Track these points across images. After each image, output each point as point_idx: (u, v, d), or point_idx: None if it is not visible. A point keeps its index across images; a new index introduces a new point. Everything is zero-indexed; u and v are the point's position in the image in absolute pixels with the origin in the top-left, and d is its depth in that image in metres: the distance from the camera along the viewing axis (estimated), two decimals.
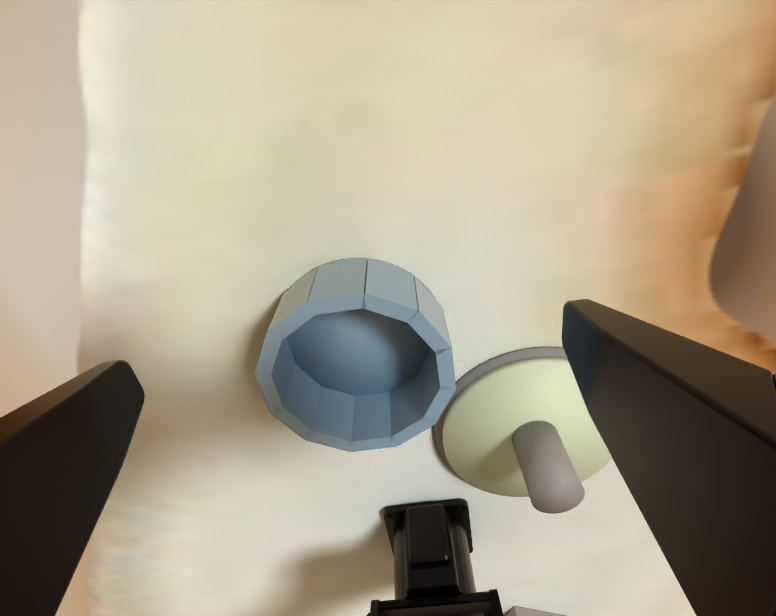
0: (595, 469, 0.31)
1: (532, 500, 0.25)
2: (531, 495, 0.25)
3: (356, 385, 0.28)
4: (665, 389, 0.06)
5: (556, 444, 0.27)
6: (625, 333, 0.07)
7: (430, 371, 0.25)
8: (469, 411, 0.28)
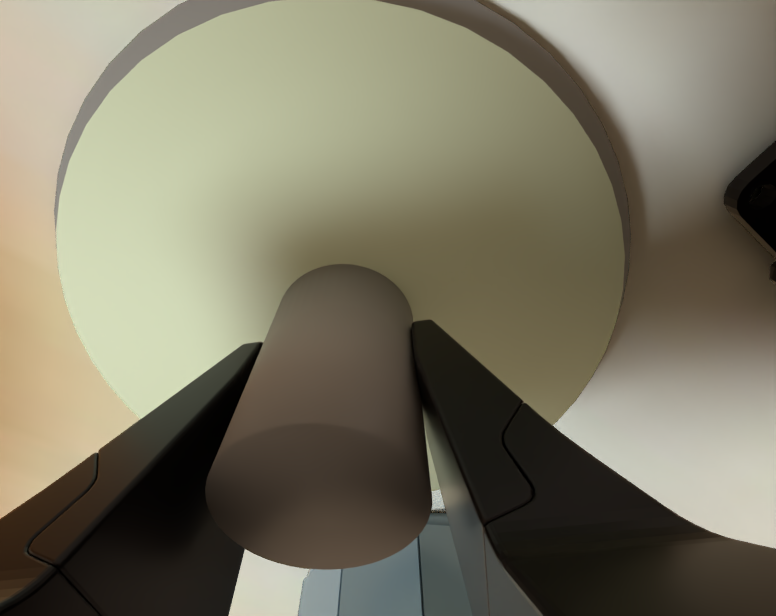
0: (258, 26, 0.07)
1: (408, 540, 0.06)
2: (394, 553, 0.06)
3: None
4: (435, 416, 0.06)
5: None
6: (432, 357, 0.07)
7: None
8: None
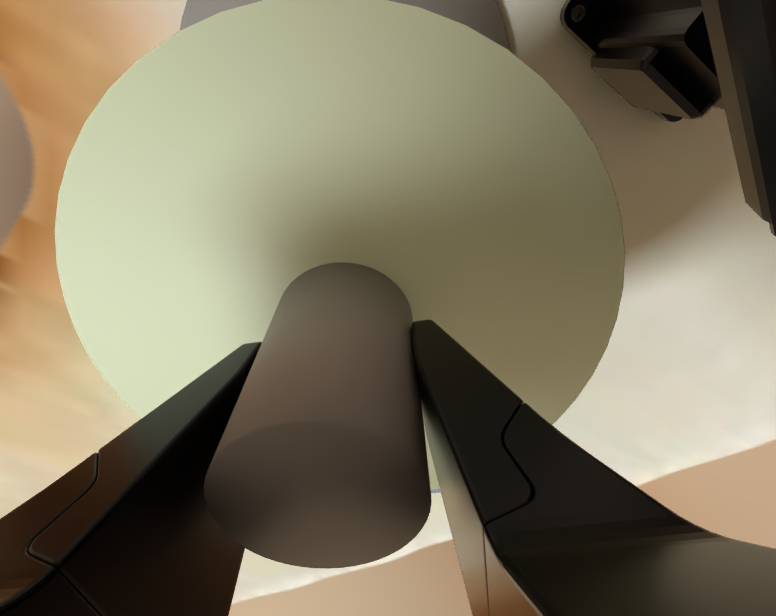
0: (257, 23, 0.07)
1: (407, 538, 0.06)
2: (392, 552, 0.06)
3: None
4: (435, 416, 0.06)
5: None
6: (432, 357, 0.07)
7: None
8: None
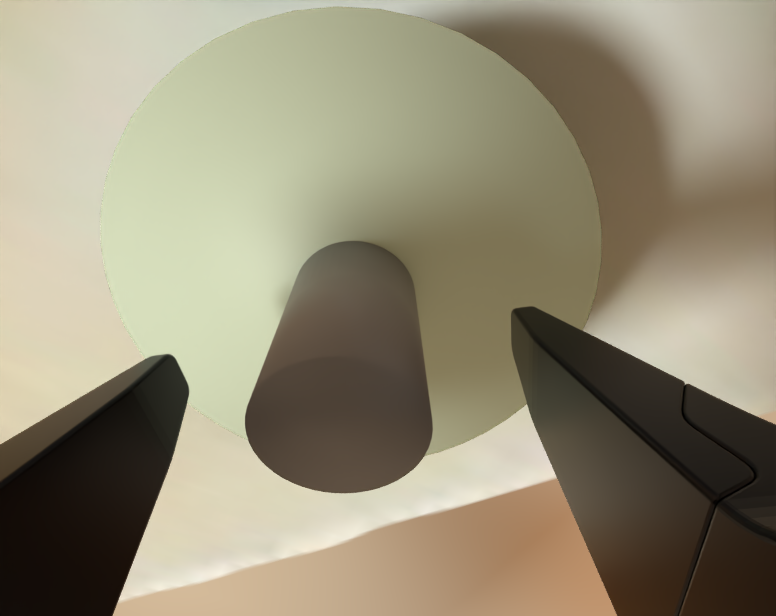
0: (283, 32, 0.08)
1: (412, 464, 0.07)
2: (400, 477, 0.08)
3: None
4: (585, 398, 0.06)
5: None
6: (558, 341, 0.07)
7: None
8: None
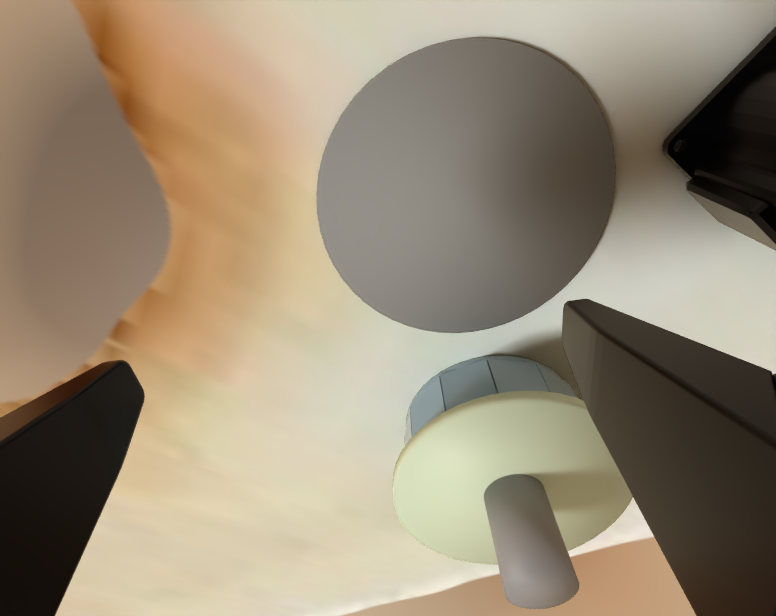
0: (506, 409, 0.19)
1: (567, 599, 0.18)
2: None
3: None
4: (665, 389, 0.06)
5: (493, 540, 0.21)
6: (625, 333, 0.07)
7: None
8: None
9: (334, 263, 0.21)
